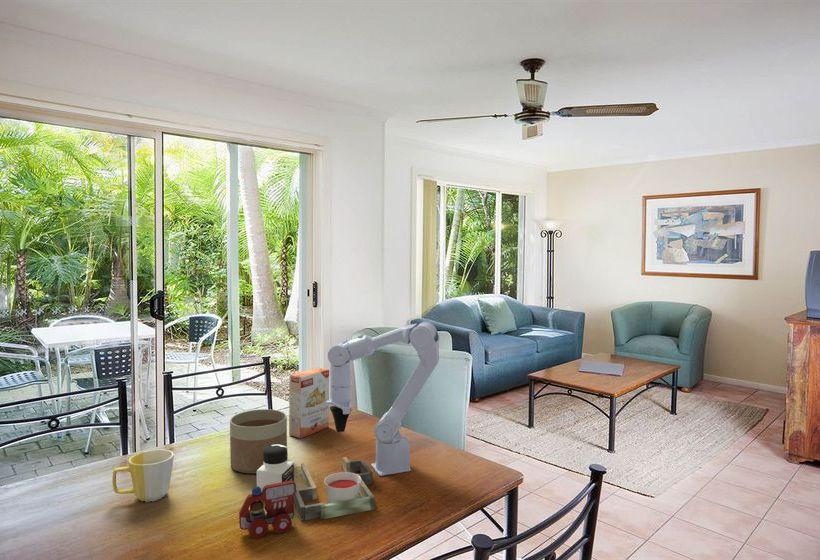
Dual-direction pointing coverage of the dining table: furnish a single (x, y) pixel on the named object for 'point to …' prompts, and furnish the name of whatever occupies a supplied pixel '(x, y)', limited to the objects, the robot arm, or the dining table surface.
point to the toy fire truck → (268, 509)
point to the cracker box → (308, 402)
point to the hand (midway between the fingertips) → (340, 431)
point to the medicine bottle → (275, 466)
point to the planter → (255, 437)
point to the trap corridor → (338, 507)
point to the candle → (342, 486)
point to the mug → (148, 474)
